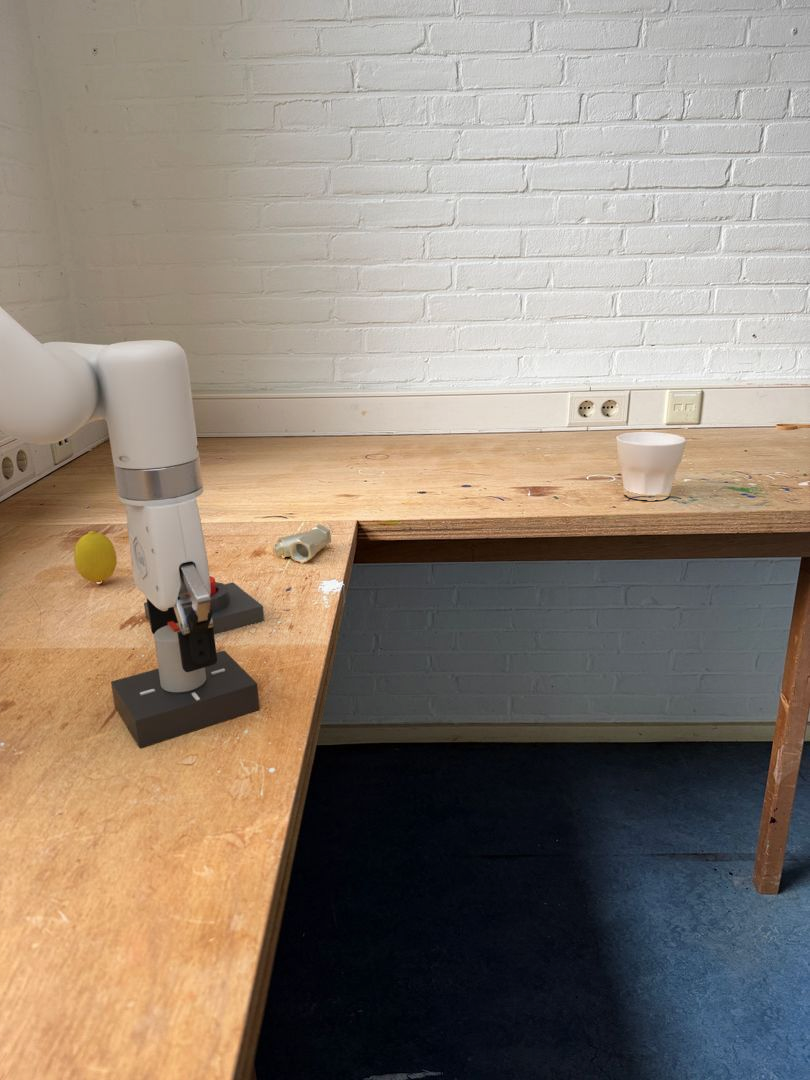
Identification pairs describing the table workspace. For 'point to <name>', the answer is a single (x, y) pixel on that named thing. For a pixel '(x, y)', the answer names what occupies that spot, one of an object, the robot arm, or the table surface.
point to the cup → (649, 461)
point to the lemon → (95, 557)
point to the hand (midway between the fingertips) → (183, 648)
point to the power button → (212, 586)
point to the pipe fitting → (303, 544)
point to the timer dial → (174, 662)
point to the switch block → (229, 608)
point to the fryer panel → (183, 702)
